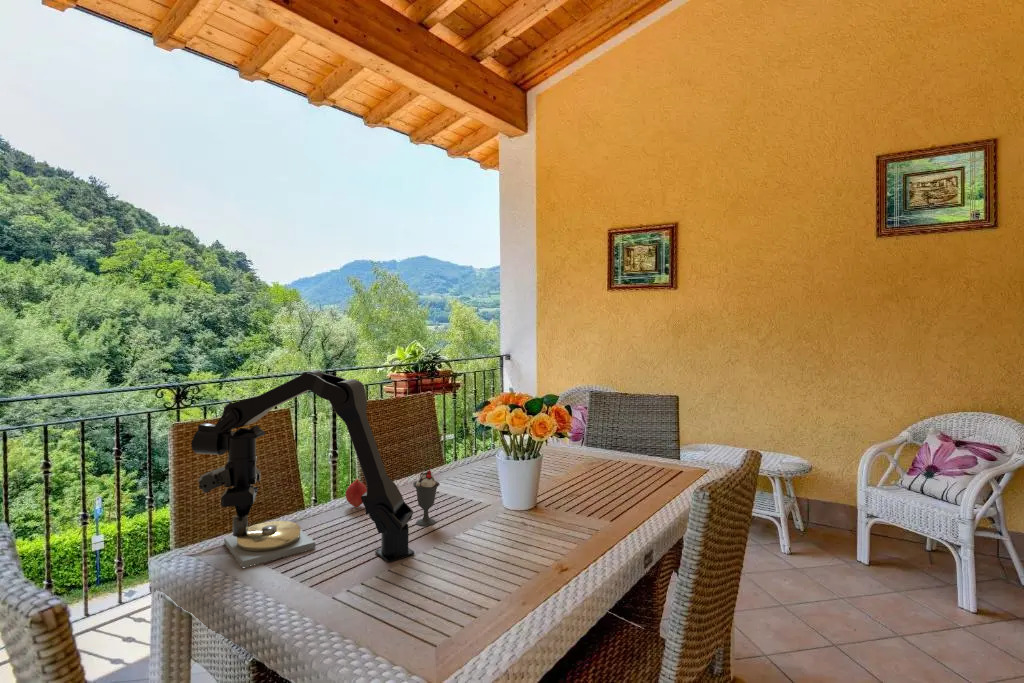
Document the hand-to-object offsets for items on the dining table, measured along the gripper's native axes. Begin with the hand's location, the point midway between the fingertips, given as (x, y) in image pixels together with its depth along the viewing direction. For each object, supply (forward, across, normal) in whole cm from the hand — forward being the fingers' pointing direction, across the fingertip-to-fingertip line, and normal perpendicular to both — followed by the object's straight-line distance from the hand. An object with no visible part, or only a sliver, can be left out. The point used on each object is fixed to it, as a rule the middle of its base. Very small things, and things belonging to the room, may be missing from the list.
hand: (242, 522), depth 121 cm
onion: (+5, -15, +26) cm, 31 cm away
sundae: (+5, +1, +42) cm, 42 cm away
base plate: (+5, +4, +6) cm, 8 cm away
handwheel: (+3, +4, +6) cm, 8 cm away
